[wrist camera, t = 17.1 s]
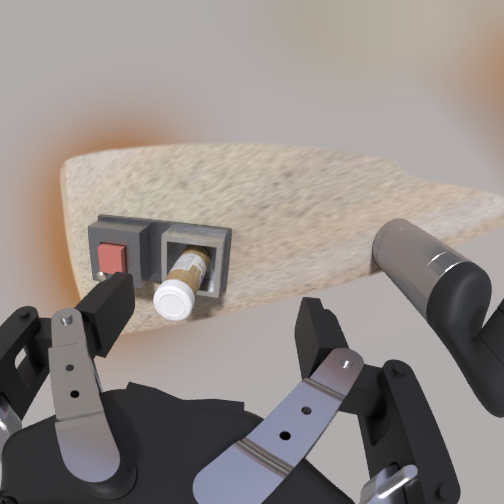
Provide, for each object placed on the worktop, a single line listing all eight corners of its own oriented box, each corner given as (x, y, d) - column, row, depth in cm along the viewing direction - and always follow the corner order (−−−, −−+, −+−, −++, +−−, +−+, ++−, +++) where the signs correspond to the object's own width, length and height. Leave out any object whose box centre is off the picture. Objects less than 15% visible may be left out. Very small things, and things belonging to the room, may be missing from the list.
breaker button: (134, 238, 40) (120, 250, 35) (135, 262, 41) (122, 275, 36) (112, 235, 39) (97, 246, 35) (114, 258, 41) (100, 271, 36)
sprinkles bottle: (212, 271, 42) (194, 322, 29) (183, 272, 42) (157, 322, 29) (208, 243, 40) (187, 286, 27) (179, 244, 40) (148, 287, 28)
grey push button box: (231, 228, 40) (228, 240, 35) (225, 287, 44) (221, 306, 39) (100, 214, 39) (82, 223, 34) (104, 269, 43) (89, 283, 38)
